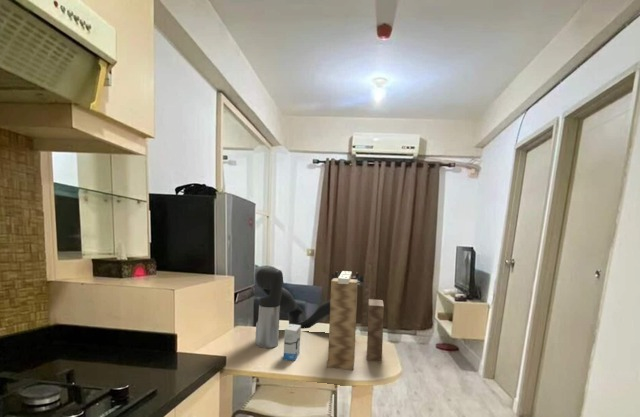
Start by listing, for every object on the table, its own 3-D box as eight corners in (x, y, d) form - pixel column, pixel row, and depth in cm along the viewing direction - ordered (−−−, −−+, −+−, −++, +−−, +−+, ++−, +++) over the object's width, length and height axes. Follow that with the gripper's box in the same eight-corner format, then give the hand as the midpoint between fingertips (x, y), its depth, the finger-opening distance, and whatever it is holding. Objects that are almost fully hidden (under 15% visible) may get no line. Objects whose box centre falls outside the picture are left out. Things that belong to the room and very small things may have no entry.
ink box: (294, 361, 133) (296, 330, 133) (282, 359, 134) (284, 329, 134) (300, 353, 141) (301, 324, 142) (288, 351, 142) (290, 323, 143)
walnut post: (366, 360, 137) (368, 305, 138) (367, 349, 149) (368, 299, 150) (381, 361, 136) (383, 306, 137) (380, 350, 148) (382, 300, 149)
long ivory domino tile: (337, 283, 128) (338, 277, 128) (342, 275, 149) (342, 270, 149) (348, 284, 127) (348, 278, 127) (351, 276, 149) (351, 271, 149)
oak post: (326, 367, 128) (330, 282, 130) (330, 356, 139) (333, 277, 141) (353, 369, 127) (356, 283, 128) (354, 358, 138) (357, 279, 139)
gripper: (362, 296, 155) (363, 283, 141) (332, 294, 157) (329, 281, 143) (363, 280, 159) (363, 266, 145) (333, 278, 161) (331, 264, 148)
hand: (346, 274), depth 144 cm, fingers open, 8 cm apart
